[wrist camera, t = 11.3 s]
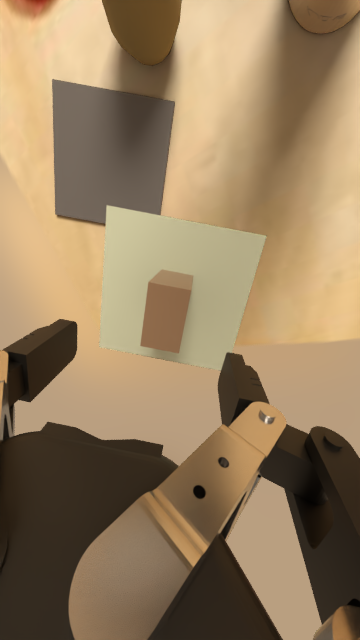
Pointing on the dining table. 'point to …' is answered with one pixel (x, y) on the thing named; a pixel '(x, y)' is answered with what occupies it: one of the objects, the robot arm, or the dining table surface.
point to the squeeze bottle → (144, 26)
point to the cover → (174, 286)
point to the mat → (108, 150)
